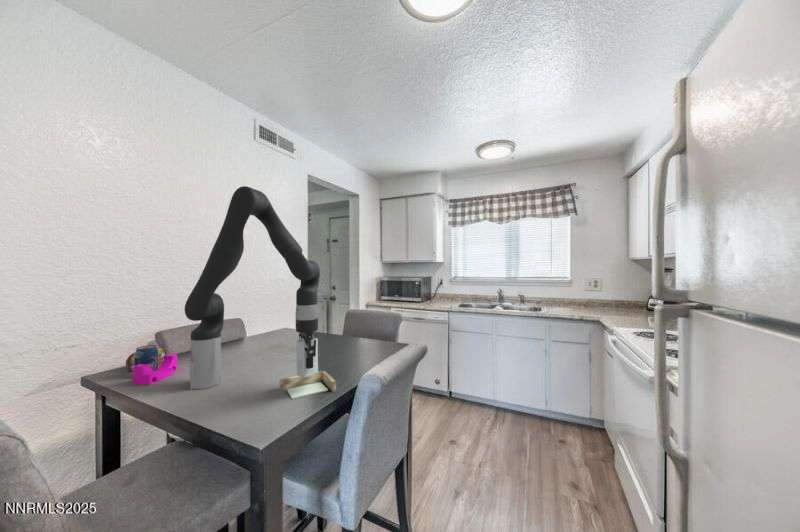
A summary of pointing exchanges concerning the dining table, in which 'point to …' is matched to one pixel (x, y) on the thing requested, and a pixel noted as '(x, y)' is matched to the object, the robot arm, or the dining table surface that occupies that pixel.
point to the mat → (306, 390)
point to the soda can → (147, 356)
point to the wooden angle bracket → (308, 381)
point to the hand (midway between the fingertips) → (307, 365)
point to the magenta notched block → (147, 376)
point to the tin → (131, 359)
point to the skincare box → (301, 360)
